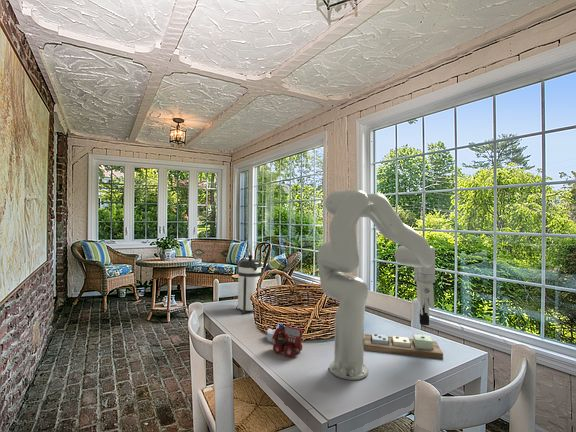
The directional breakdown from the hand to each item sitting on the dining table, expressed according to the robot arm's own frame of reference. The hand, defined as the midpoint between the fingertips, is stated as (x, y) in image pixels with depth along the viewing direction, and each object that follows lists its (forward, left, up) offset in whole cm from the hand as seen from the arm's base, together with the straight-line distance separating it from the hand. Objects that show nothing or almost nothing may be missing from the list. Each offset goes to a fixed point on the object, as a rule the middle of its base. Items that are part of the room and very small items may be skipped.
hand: (424, 324), depth 124 cm
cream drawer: (0, +8, -10) cm, 13 cm away
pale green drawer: (0, 0, -8) cm, 8 cm away
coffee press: (+29, +84, -10) cm, 90 cm away
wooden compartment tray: (0, +8, -10) cm, 13 cm away
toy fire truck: (-17, +50, -10) cm, 54 cm away
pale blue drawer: (0, +16, -10) cm, 19 cm away
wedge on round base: (-5, +56, -10) cm, 57 cm away
